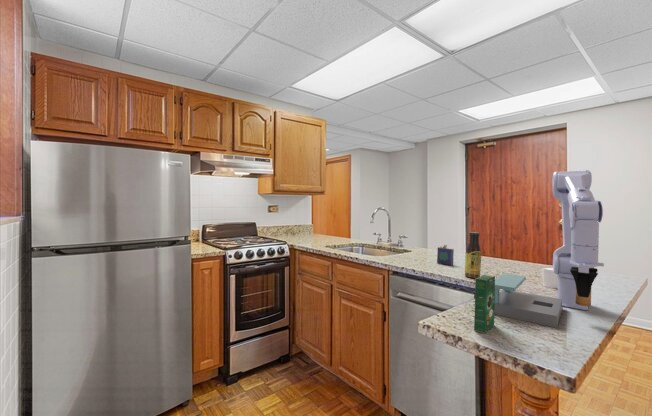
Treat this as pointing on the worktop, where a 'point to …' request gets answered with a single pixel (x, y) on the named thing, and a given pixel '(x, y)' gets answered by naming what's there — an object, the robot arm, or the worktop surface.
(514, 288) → the socket stand
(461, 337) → the worktop surface
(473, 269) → the sauce bottle
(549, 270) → the white cube
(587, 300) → the peg
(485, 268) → the worktop surface
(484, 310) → the coffee box
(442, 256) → the flask
